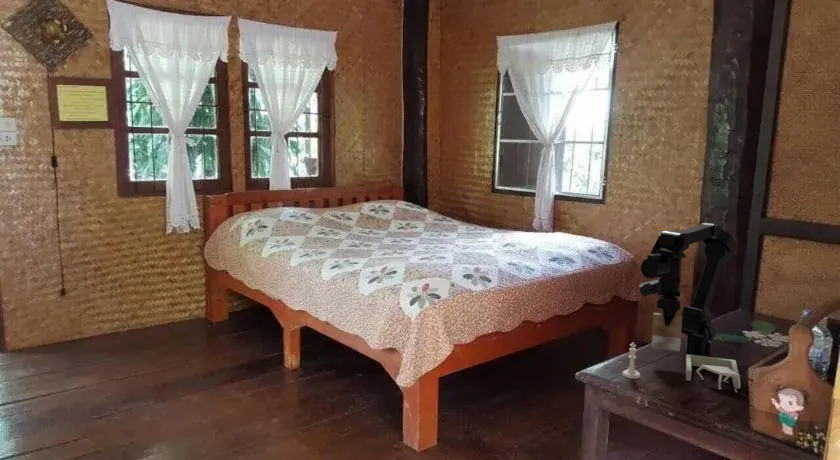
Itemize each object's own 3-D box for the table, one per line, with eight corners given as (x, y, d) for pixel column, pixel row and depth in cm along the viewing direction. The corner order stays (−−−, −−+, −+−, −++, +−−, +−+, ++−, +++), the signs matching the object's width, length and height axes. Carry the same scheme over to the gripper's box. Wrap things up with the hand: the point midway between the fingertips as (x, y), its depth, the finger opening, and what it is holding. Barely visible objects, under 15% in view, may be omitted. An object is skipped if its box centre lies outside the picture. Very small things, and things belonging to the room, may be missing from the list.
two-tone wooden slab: (651, 347, 189) (653, 314, 187) (651, 345, 191) (653, 312, 189) (679, 351, 186) (682, 317, 184) (679, 349, 188) (682, 315, 186)
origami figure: (743, 384, 175) (744, 367, 175) (739, 395, 168) (741, 377, 168) (697, 375, 182) (698, 359, 181) (692, 385, 175) (693, 368, 174)
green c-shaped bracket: (686, 380, 178) (686, 370, 178) (685, 363, 190) (686, 354, 190) (738, 387, 173) (739, 377, 172) (734, 369, 185) (735, 360, 185)
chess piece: (626, 370, 185) (627, 338, 184) (642, 374, 182) (644, 342, 180) (619, 375, 181) (621, 343, 180) (636, 380, 178) (638, 346, 177)
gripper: (643, 265, 196) (640, 312, 199) (639, 278, 179) (636, 330, 182) (681, 267, 192) (678, 316, 194) (681, 282, 175) (678, 335, 177)
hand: (667, 324), depth 187 cm, fingers closed on two-tone wooden slab, 2 cm apart
